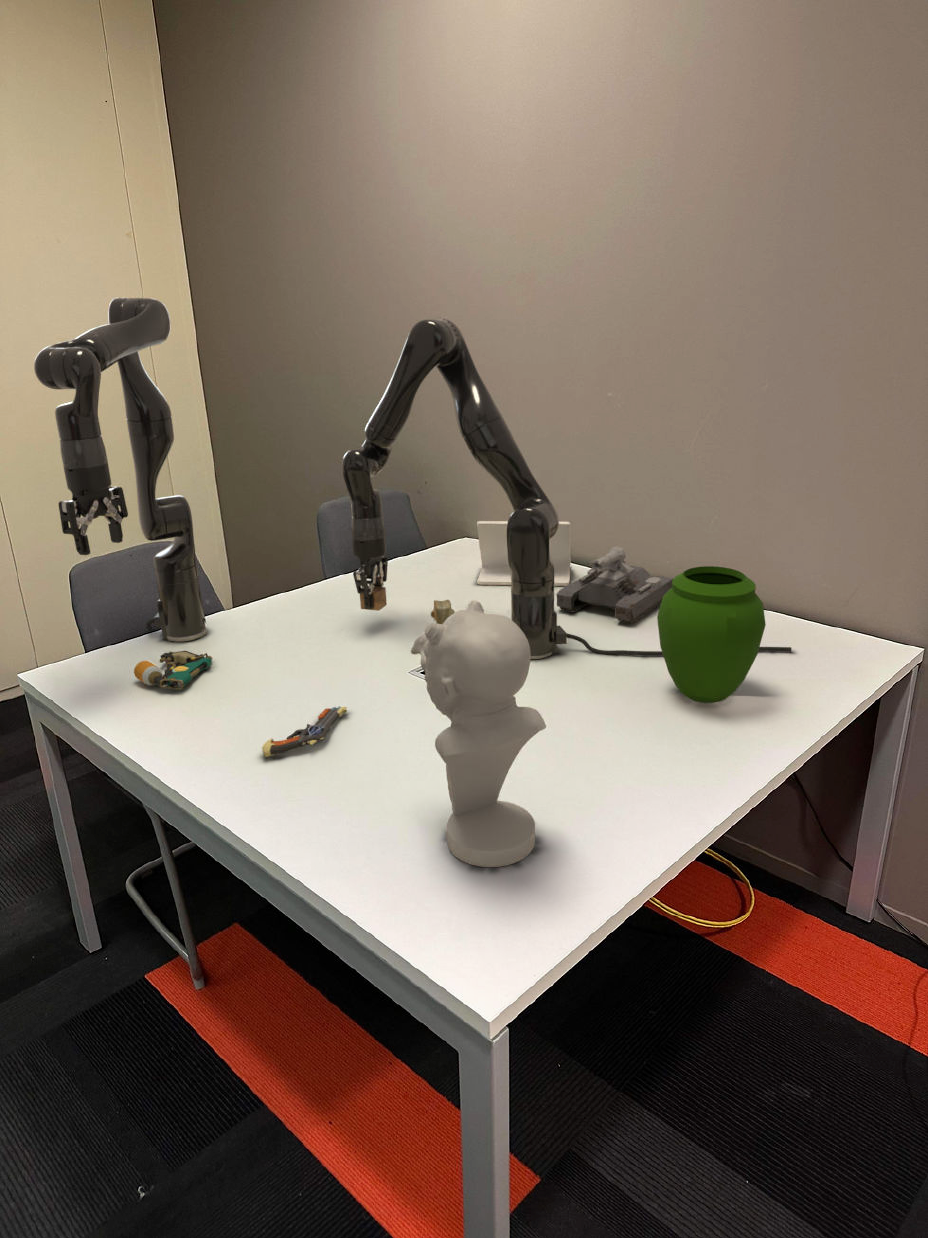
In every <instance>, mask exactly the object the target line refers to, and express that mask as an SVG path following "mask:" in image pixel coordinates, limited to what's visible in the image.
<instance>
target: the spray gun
mask: <svg viewBox="0 0 928 1238" xmlns="http://www.w3.org/2000/svg"><path fill="white" fill-rule="evenodd" d="M212 660H213V657H212V656H211V655H208V653H207V652H205V653H201V654H197V653H194V652H192V651H191V652H190V651H188V650H180V651H169V652H164V653H162V654H161V655H160V658H159V660H158V662H159V663H161V664H163V663H165V664H166V668H165V670H163V672H164V674H163V673H162V669H160V668H159V666H157V665H156V664H154V663H152V662H151V661H149V660H141V661H139V662H138V663H136V665H135V666H134V668H133V675H134V677H135V678H136V679H137V680H139V681H140V682H142V683H143V684H145V685H147V686H155V685H157V686H158V687H160V688H161V689H171V690H172V689H173V690H182V689H184V687H185V686H186V685H188V684H189V683H190V682H191V681H192V679H193V678H195V677H196V676H197V675H198V674H200V673H201V672H202V671H203V670H206V669H208V668H209V667H210V666H211V665H212V662H213V661H212ZM178 663H179V664H181V665H179V666H176V665H177V664H178Z"/></svg>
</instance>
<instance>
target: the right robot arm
mask: <svg viewBox="0 0 928 1238" xmlns="http://www.w3.org/2000/svg"><path fill="white" fill-rule="evenodd" d="M435 367H436V368H437V370H438V372H439V373H440V375H441V376H442V378H443V380H444V382H445V384H446V385H447V387H448V389H449V392H450V394H451V395H450V396H451V397H452V403H453V408H454V414H455V419H456V423H457V427H458V430H459V433H460V435H461V437H462V438H463V440H464V442H465V444H466V446H467V448H468V450H469V451H470V453H471V455H472V457H473V458H474V460H475V461H476V462H477V463H478V465H479V466H480V467H481V468H482V469H483V470H484V471H485V472H486V473H487V474H488V475H489V476H490V477H491V478H492V479H493V480H494V481H495V482H496V483H497V484H498V485H499V486H500V487H501V489H502V490H503V491H504V494H505V495H506V497H507V499H508V501H509V502H510V505H511V507H512V509H513V511H512V512H511V513H510V515H509V517H508V519H507V521H508V523H507V556H508V564H509V567H510V570H511V585H510V588H511V589H510V597H511V599H510V603H511V604H510V606H511V607H510V609H511V610H510V615H511V617H510V619H511V620H512V621H513V622H514V623H515V624H516V625H517V626H518V627H519V628H520V629H521V630H522V632H523V633H524V634H525V636H526V638H527V640H528V643H529V646H530V652H531V653H530V655H531V656H530V660H540V659H545V658H548V657H550V656H552V655H557V654H558V653H557V650H558V649H557V648H558V647H557V645H566V644H568V643H567V642H568V641H567V640H568V639H571V640H574V641H577V642H579V643H581V644H582V645H583V646H584V647H585V648H586V649H587V650H588V652H589V651H590V652H592V653H594V654H597V655H605V656H606V655H607V656H615V655H617V656H618V655H621V656H622V655H623V656H648V657H649V656H651V657H652V656H654V657H655V656H657V657H658V656H660V657H661V656H663V653H662V650H653V651H652V650H626V649H625V650H624V649H623V650H622V649H621V650H620V649H619V650H618V649H616V650H614V649H613V650H606V649H605V650H603V649H598V648H595V647H593V646H591V645H590V644H589V642H588V641H587V640H586V639H584V638H583V637H580V636H578V635H576V634H571V633H567V632H566V631H565V629H564V628H563V627H562V626H561V625H558V613H557V612H556V611H555V586H554V565H553V563H552V562H550V552H549V539H551V538H552V537H553V536H554V535H555V533H556V532H557V529H558V526H559V522H560V520H559V515H558V512H557V510H556V508H555V507H554V504H553V503H552V502H551V500H550V498H548V495H546V493H545V491H544V489H542V487H541V485H540V483H539V482H538V481H537V479H536V478H535V476H534V475H533V473H532V471H531V469H530V467H529V465H528V464H527V460H526V459H525V457H524V455H523V453H522V451H521V450H520V448H519V446H518V444H517V442H516V440H515V438H514V436H513V434H512V431H511V430H510V427H509V426H508V424H507V422H506V420H505V418H504V417H503V415H502V413H501V411H500V409H499V408H498V406H497V405H496V402H495V401H494V399H493V397H492V395H491V393H490V391H489V390H488V388H487V386H486V384H485V382H484V381H483V379H482V378H481V375H480V374H479V371H478V370H477V367H476V365H475V362H474V360H473V358H472V355H471V352H470V350H469V348H468V345H467V342H466V341H465V338H464V336H463V334H462V332H461V330H460V328H459V327H458V326H457V324H456V323H455V322H453V321H452V320H450V319H449V318H446V317H432V318H431V317H430V318H425V319H420V320H419V321H417V322H416V323H415V324H414V325H413V326H412V327H411V329H410V331H409V333H408V335H407V338H406V340H405V342H404V346H403V348H402V350H401V353H400V357H399V359H398V362H397V365H396V367H395V369H394V371H393V373H392V377H391V378H390V381H389V383H388V384H387V387H386V389H385V391H384V393H383V395H382V397H381V399H380V401H379V403H378V404H377V406H376V408H375V409H374V411H373V413H372V415H371V416H370V418H369V419H368V421H367V424H366V425H365V428H364V436H365V440H364V442H363V443H362V445H361V446H358V447H355V448H352V449H350V450H348V451H346V453H345V454H344V455H343V457H342V461H341V474H342V478H343V480H344V484H345V487H346V490H347V493H348V496H349V498H350V509H351V510H350V511H351V538H352V550H353V555H354V556H355V557H356V558H358V559H359V564H358V568H359V569H358V570H354V571H353V573H352V575H353V581H354V585H355V588H356V591H357V594H359V595H360V594H363V596H364V607H365V609H364V610H366V609H373V608H374V599H373V586H377V587H384V585H385V584H384V583H386V582H387V580H388V564H389V557H388V556H385V555H386V554H387V543H386V542H387V541H386V529H385V528H386V527H385V526H386V525H385V520H384V514H383V513H384V512H383V500H382V499H383V498H382V493H381V492H380V490H379V489H377V488H374V487H373V484H372V479H371V478H373V477H375V476H377V475H379V474H380V473H381V472H382V471H383V470H384V468H385V467H386V465H387V463H388V461H389V458H390V455H391V452H392V449H393V445H394V443H395V442H396V441H397V439H398V438H399V435H400V434H401V432H402V430H403V429H404V428H405V426H406V424H407V422H408V420H409V419H410V418H409V417H410V415H411V413H412V410H413V405H414V401H415V399H416V395H417V393H418V391H419V388H420V386H421V385H422V383H423V382H424V381H425V379H426V378H427V377H428V375H429V374H430V373H431V372H432V370H433V369H434V368H435ZM368 586H369V587H368ZM792 651H793V650H792V647H791V646H760V647H759V650H758V652H792ZM663 657H664V656H663Z"/></svg>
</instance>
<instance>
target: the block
mask: <svg viewBox="0 0 928 1238" xmlns="http://www.w3.org/2000/svg"><path fill="white" fill-rule="evenodd" d="M368 587H369V585H368ZM386 589H387V588H386V586H383V587H377V586H373V599H374V608H373V609H365V607H364V596H363V594H359V602H360V604H359V605H360V610H367V611H376V612H377V611H378V612H380V611H381V610H382V609H383V608H384V607H386V606H387V590H386Z"/></svg>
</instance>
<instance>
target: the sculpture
mask: <svg viewBox="0 0 928 1238" xmlns="http://www.w3.org/2000/svg"><path fill="white" fill-rule="evenodd" d="M455 612H456V611H455V609H453V608H452V602H451V601H450V599H445V600H433V610H431V612H430V617H431V618H432V619H433V620H434V621H435V622H436V623H435V624H443V623H444V622H445V620H446V619H447V618H448V617H450V616H451V615H452V614H453V613H455Z"/></svg>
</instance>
